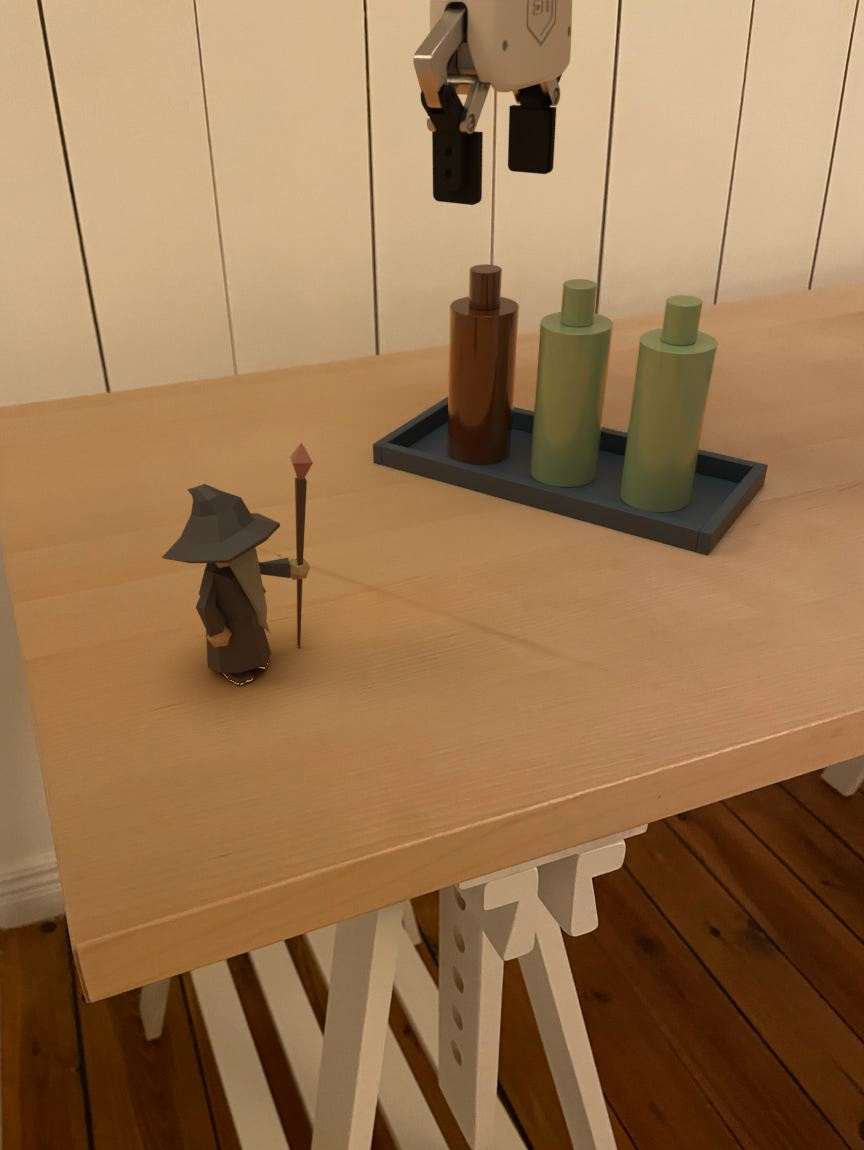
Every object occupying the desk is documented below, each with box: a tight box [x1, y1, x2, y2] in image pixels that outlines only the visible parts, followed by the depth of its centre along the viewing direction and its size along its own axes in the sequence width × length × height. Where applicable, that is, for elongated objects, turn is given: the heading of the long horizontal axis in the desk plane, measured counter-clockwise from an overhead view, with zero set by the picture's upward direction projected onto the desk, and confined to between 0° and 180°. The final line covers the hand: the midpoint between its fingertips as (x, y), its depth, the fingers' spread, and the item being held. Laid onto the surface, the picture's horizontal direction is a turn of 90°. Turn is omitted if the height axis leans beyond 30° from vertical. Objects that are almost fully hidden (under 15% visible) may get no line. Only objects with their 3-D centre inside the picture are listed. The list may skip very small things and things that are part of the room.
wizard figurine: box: [161, 442, 314, 685], centre depth 53 cm, size 8×6×12 cm
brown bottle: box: [447, 263, 520, 465], centre depth 73 cm, size 5×5×14 cm
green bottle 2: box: [620, 294, 719, 513], centre depth 66 cm, size 5×5×14 cm
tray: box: [372, 396, 769, 556], centre depth 73 cm, size 26×12×2 cm, turn 56°
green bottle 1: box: [530, 278, 614, 487], centre depth 69 cm, size 5×5×14 cm
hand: (495, 186), depth 66 cm, fingers open, 9 cm apart
